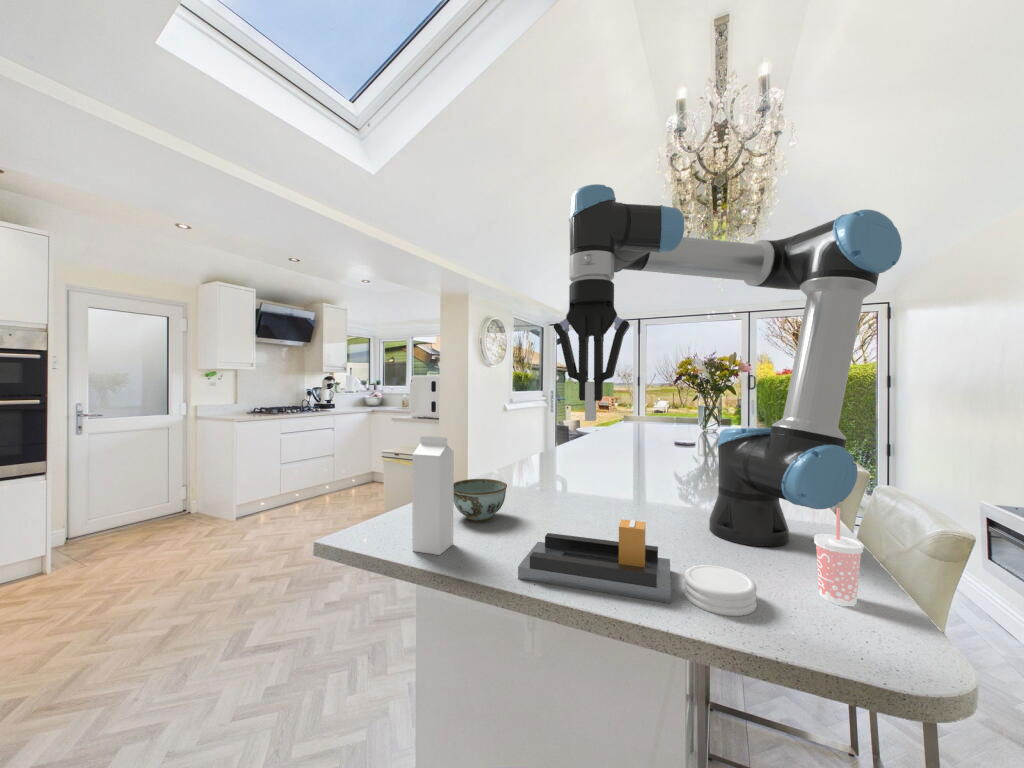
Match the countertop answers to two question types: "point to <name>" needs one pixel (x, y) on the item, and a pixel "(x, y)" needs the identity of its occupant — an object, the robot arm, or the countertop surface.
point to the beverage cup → (838, 566)
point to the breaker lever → (632, 543)
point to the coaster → (720, 590)
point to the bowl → (479, 498)
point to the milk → (432, 496)
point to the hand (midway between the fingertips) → (590, 420)
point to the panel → (600, 583)
